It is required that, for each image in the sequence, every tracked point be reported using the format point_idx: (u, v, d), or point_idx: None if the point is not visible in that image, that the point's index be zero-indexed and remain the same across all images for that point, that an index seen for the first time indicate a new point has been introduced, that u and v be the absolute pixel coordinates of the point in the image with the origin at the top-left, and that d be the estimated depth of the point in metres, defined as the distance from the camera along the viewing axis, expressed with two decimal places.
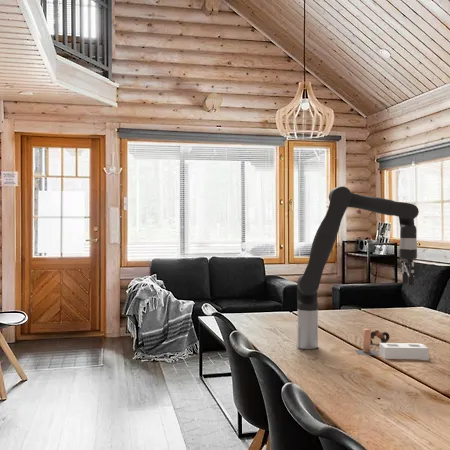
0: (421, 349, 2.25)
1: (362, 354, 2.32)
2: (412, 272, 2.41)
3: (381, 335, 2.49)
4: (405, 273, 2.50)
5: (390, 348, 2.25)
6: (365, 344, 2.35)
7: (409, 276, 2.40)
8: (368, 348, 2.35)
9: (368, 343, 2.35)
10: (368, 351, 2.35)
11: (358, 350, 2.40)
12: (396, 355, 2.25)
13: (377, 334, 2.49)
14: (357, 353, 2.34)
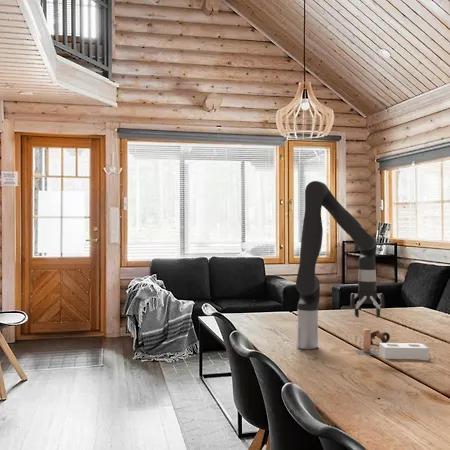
0: (421, 349, 2.25)
1: (362, 354, 2.32)
2: None
3: (381, 335, 2.48)
4: None
5: (390, 348, 2.25)
6: (365, 344, 2.35)
7: (379, 308, 2.35)
8: (368, 348, 2.35)
9: (368, 343, 2.35)
10: (368, 351, 2.35)
11: (358, 350, 2.40)
12: (396, 355, 2.25)
13: (377, 334, 2.48)
14: (357, 353, 2.34)
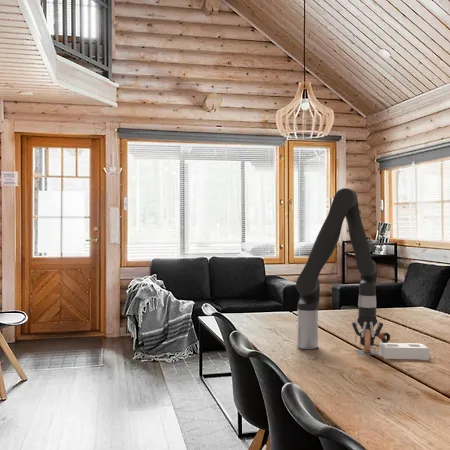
0: (421, 349, 2.25)
1: (362, 354, 2.32)
2: None
3: (382, 335, 2.48)
4: None
5: (390, 348, 2.25)
6: (365, 344, 2.35)
7: (373, 336, 2.35)
8: (368, 348, 2.35)
9: (369, 343, 2.35)
10: (368, 351, 2.35)
11: (358, 350, 2.40)
12: (396, 355, 2.25)
13: (378, 335, 2.48)
14: (357, 353, 2.34)
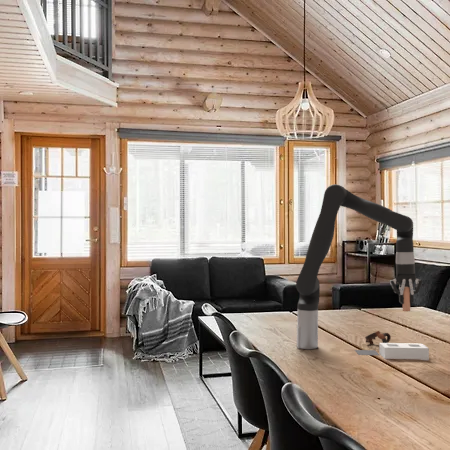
0: (421, 349, 2.25)
1: (362, 354, 2.32)
2: None
3: (382, 336, 2.47)
4: None
5: (390, 348, 2.25)
6: (404, 302, 2.29)
7: (413, 294, 2.30)
8: (408, 306, 2.29)
9: (408, 301, 2.29)
10: (408, 309, 2.29)
11: (358, 350, 2.40)
12: (396, 355, 2.25)
13: (378, 335, 2.47)
14: (357, 353, 2.34)
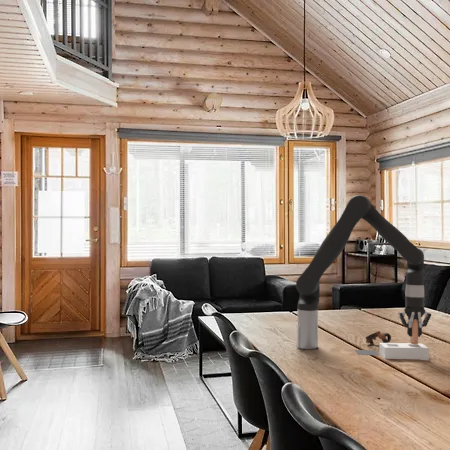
0: (421, 349, 2.25)
1: (362, 354, 2.32)
2: None
3: (383, 336, 2.47)
4: None
5: (390, 348, 2.25)
6: (413, 335, 2.28)
7: (421, 327, 2.28)
8: (416, 339, 2.28)
9: (416, 334, 2.28)
10: (416, 342, 2.28)
11: (358, 350, 2.40)
12: (396, 355, 2.25)
13: (379, 335, 2.46)
14: (357, 353, 2.34)
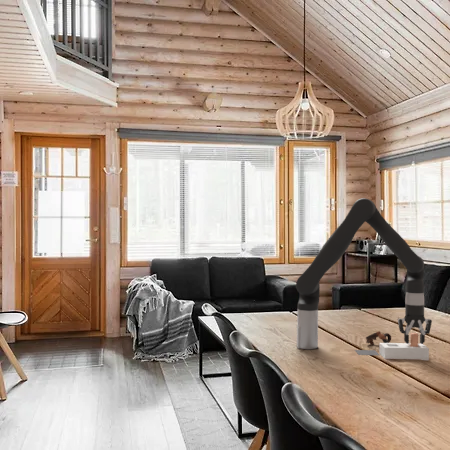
0: (421, 349, 2.25)
1: (362, 354, 2.32)
2: None
3: (383, 336, 2.46)
4: None
5: (390, 348, 2.25)
6: None
7: (424, 334, 2.28)
8: None
9: None
10: None
11: (358, 350, 2.40)
12: (396, 355, 2.25)
13: (379, 335, 2.46)
14: (357, 353, 2.34)
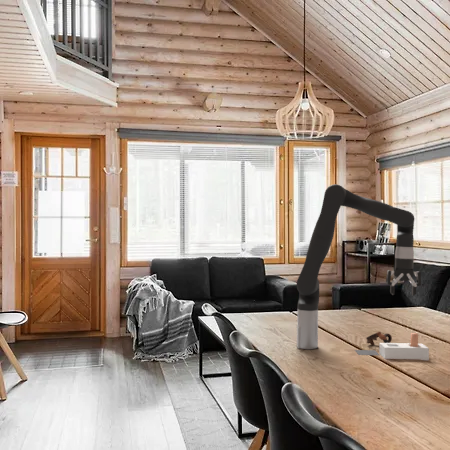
0: (421, 349, 2.25)
1: (362, 354, 2.32)
2: None
3: (384, 337, 2.46)
4: None
5: (390, 348, 2.25)
6: None
7: (416, 286, 2.33)
8: None
9: None
10: None
11: (358, 350, 2.40)
12: (396, 355, 2.25)
13: (380, 336, 2.45)
14: (357, 353, 2.34)
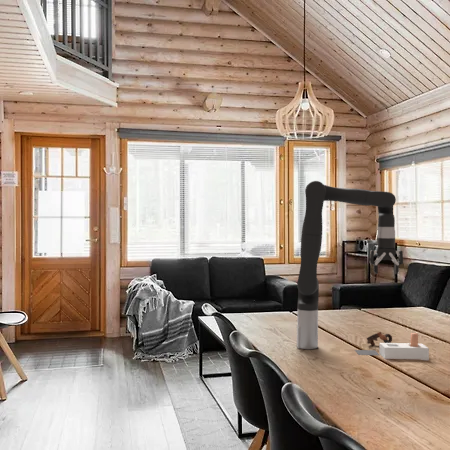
0: (421, 349, 2.25)
1: (362, 354, 2.32)
2: None
3: (384, 337, 2.45)
4: None
5: (390, 348, 2.25)
6: None
7: (398, 265, 2.41)
8: None
9: None
10: None
11: (358, 350, 2.40)
12: (396, 355, 2.25)
13: (380, 336, 2.45)
14: (357, 353, 2.34)
